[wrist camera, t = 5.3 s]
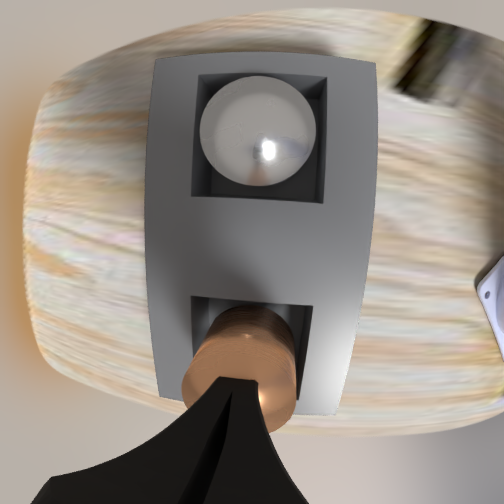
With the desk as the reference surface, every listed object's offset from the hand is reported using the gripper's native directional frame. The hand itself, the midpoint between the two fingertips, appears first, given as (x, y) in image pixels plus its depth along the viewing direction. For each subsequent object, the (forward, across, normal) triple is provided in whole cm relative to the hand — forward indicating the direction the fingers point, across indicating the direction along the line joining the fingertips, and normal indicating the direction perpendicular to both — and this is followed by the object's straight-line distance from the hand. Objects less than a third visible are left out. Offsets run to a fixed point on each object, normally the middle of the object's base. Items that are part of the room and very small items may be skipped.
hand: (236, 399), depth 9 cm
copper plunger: (+4, 0, 0) cm, 4 cm away
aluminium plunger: (+6, 0, -9) cm, 11 cm away
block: (+7, 0, -4) cm, 8 cm away
